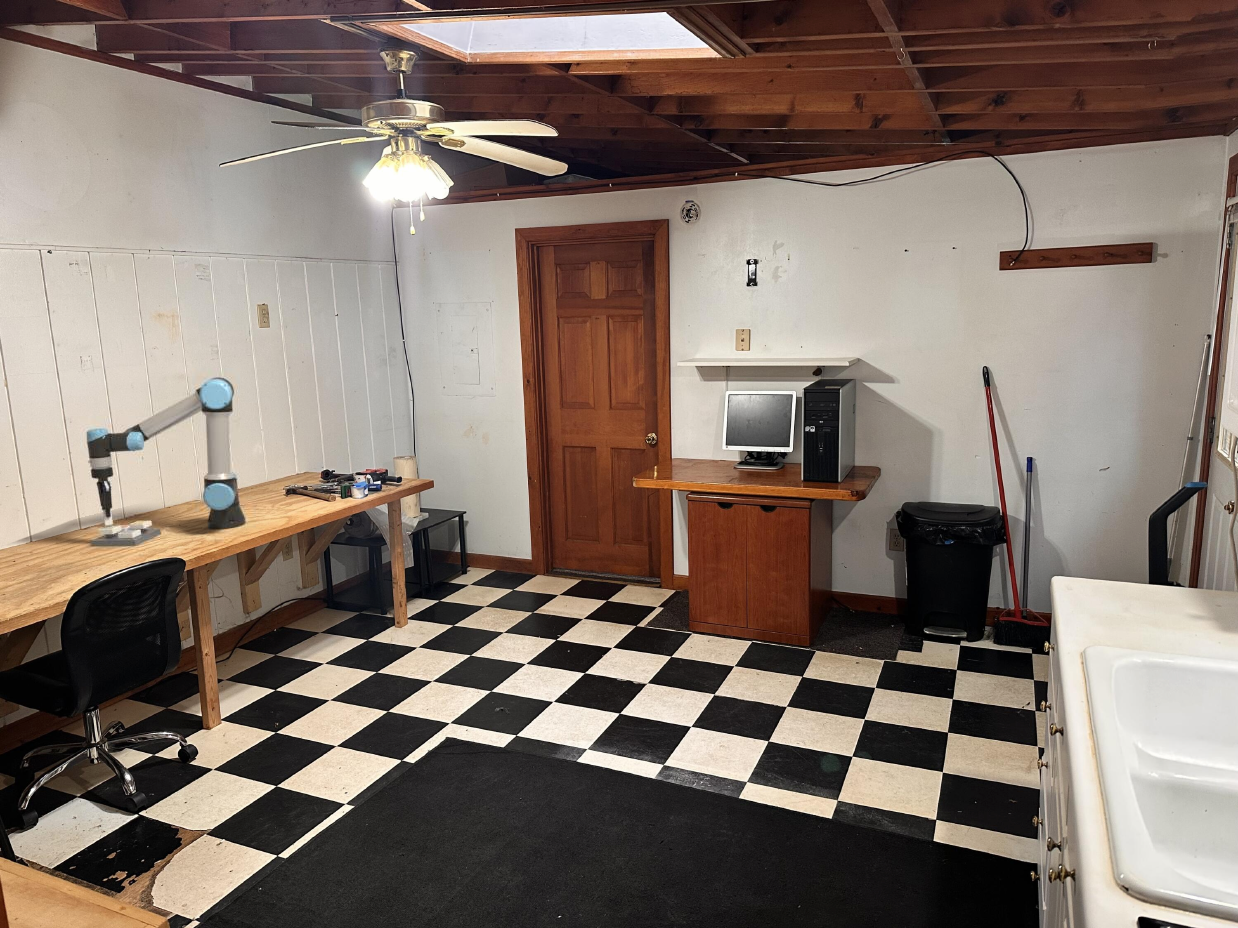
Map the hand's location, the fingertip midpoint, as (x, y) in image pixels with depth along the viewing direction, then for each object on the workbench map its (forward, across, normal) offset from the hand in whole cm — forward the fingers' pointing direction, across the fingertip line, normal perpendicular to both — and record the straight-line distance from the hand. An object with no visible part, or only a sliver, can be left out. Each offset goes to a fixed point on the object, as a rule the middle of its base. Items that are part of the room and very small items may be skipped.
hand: (108, 524), depth 349 cm
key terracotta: (+7, -6, +6) cm, 11 cm away
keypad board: (+8, 0, +6) cm, 10 cm away
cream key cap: (+5, 0, +11) cm, 13 cm away
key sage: (+5, 0, 0) cm, 5 cm away
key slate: (+7, +6, +6) cm, 11 cm away
